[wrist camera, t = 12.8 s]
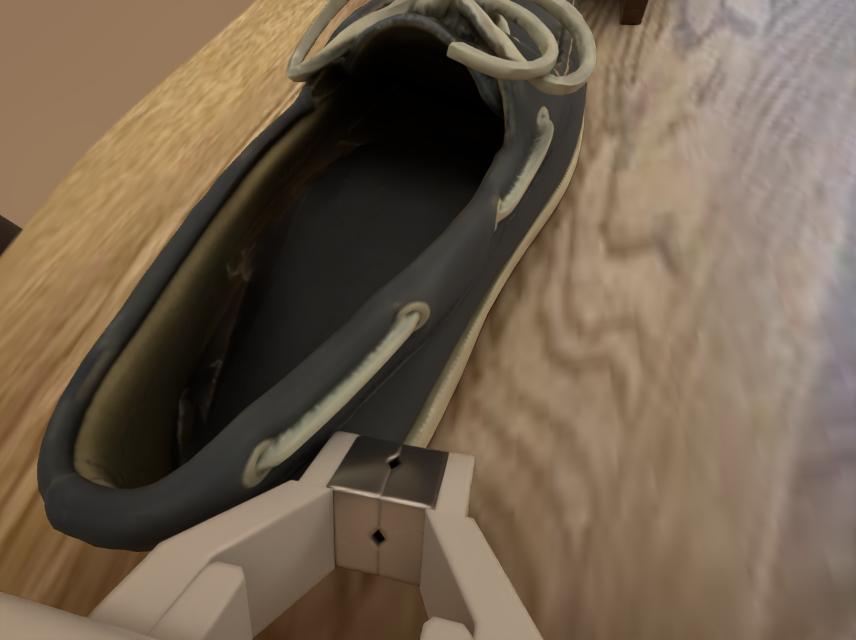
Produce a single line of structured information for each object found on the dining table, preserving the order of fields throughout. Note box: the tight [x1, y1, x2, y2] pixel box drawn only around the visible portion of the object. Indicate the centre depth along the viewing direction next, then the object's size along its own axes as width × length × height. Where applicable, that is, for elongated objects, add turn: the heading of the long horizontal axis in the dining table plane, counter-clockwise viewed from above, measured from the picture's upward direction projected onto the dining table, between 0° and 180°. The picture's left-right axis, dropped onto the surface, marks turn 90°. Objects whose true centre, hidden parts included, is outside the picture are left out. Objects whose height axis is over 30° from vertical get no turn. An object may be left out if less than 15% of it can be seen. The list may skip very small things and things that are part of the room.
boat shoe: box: [37, 0, 596, 552], centre depth 13 cm, size 26×10×8 cm, turn 152°
